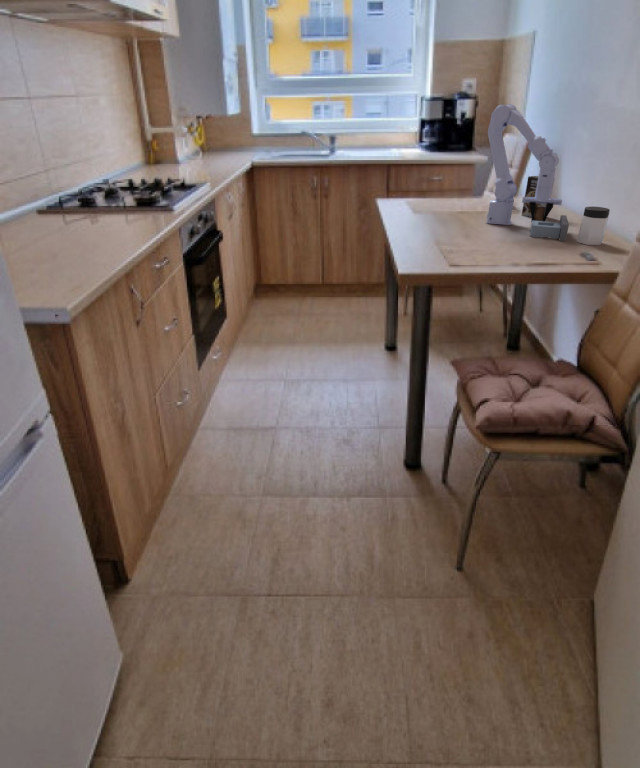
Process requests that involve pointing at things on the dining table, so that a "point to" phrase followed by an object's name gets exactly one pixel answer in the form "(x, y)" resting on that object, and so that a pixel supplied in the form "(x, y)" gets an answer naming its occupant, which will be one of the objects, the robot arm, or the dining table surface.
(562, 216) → the wall
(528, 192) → the coffee box
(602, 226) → the jar
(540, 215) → the dowel
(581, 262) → the dining table surface
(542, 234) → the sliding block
